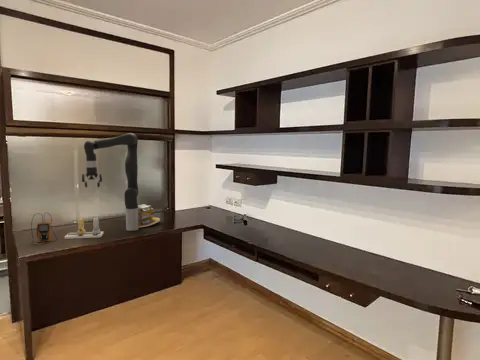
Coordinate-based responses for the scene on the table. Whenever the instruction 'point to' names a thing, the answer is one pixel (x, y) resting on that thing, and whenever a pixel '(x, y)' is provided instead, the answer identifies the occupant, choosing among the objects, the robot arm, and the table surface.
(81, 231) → the brass leg
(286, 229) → the table surface
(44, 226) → the multimeter
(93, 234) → the white stand
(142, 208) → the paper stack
